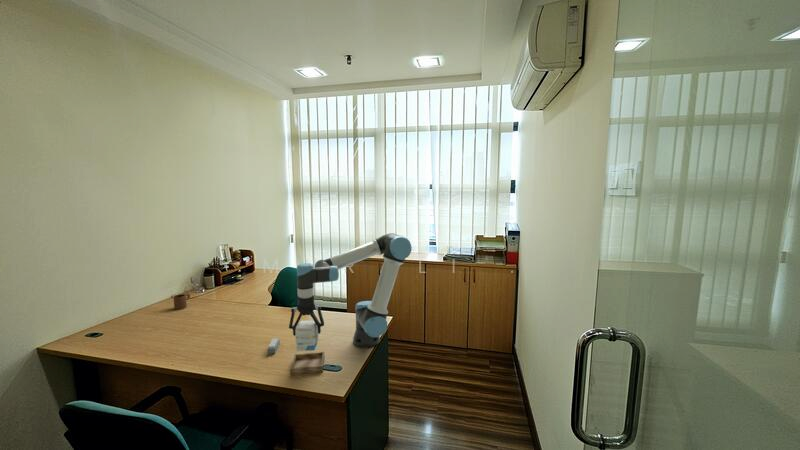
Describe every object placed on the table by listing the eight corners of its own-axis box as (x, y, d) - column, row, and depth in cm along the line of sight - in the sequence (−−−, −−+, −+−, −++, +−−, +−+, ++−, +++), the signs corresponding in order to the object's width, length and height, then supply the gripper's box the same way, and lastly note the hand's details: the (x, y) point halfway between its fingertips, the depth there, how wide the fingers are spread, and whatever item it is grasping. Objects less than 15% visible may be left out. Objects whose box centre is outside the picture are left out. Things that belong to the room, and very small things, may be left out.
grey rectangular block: (273, 345, 175) (272, 337, 175) (279, 345, 176) (279, 337, 175) (267, 354, 165) (267, 346, 165) (275, 354, 166) (274, 346, 165)
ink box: (318, 342, 157) (317, 320, 156) (314, 350, 149) (314, 327, 148) (300, 342, 157) (300, 320, 156) (295, 351, 149) (295, 327, 147)
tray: (324, 357, 162) (324, 351, 162) (322, 371, 149) (322, 365, 148) (295, 359, 160) (294, 354, 159) (290, 375, 146) (290, 369, 146)
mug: (186, 303, 241) (185, 291, 240) (194, 304, 239) (193, 292, 238) (171, 309, 229) (170, 297, 228) (180, 310, 227) (179, 297, 226)
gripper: (329, 292, 156) (330, 335, 158) (283, 294, 152) (285, 338, 154) (328, 297, 149) (329, 342, 151) (280, 299, 145) (282, 346, 147)
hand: (307, 340), depth 153 cm, fingers closed on ink box, 9 cm apart
